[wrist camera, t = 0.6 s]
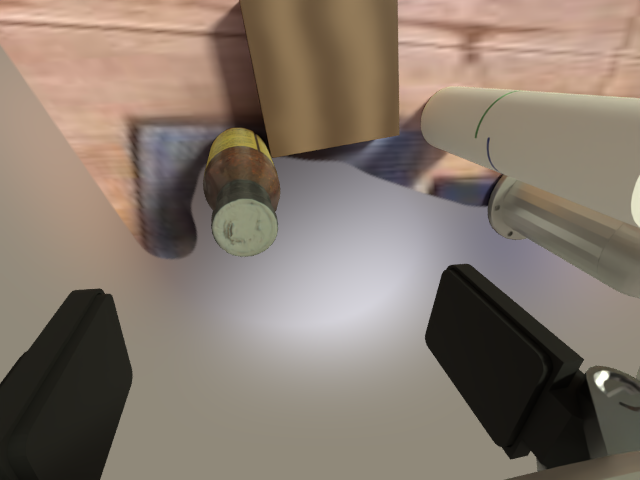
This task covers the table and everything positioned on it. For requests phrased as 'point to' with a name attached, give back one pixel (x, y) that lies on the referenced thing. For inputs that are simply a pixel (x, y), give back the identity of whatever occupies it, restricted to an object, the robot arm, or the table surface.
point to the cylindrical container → (546, 142)
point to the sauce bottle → (242, 192)
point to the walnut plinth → (324, 71)
